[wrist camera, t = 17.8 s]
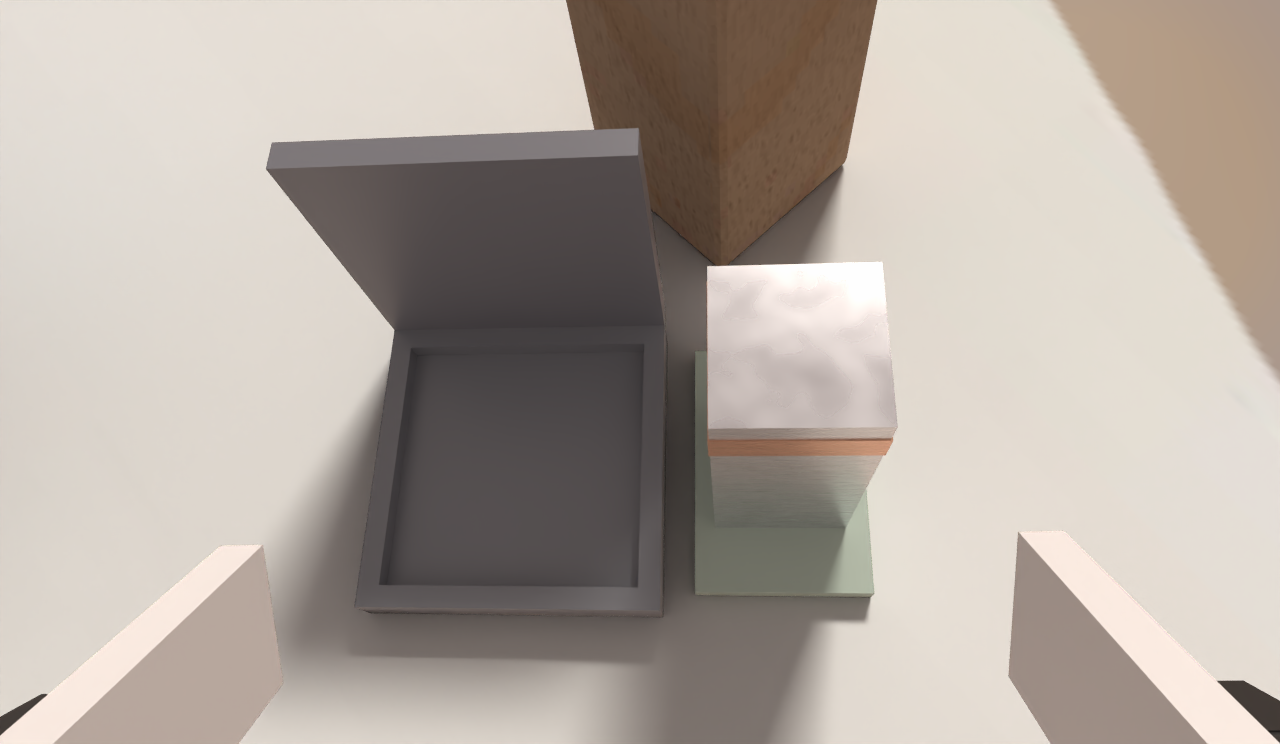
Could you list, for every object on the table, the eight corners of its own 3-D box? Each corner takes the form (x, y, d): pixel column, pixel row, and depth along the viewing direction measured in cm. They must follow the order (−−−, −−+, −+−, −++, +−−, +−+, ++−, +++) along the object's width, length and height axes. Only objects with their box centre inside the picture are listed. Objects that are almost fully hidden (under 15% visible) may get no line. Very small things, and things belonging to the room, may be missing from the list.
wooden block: (721, 274, 48) (715, -19, 30) (599, 167, 52) (526, -154, 33) (849, 162, 50) (917, -177, 32) (723, 67, 54) (719, -289, 35)
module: (713, 528, 42) (706, 430, 29) (713, 406, 44) (705, 265, 31) (847, 529, 41) (899, 428, 28) (839, 405, 44) (883, 260, 31)
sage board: (695, 595, 42) (694, 591, 41) (695, 359, 46) (695, 351, 45) (870, 596, 41) (874, 593, 40) (853, 356, 46) (855, 348, 45)
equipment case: (370, 613, 43) (182, 540, 28) (410, 326, 49) (271, 142, 34) (663, 616, 41) (625, 542, 27) (667, 321, 47) (638, 127, 33)
